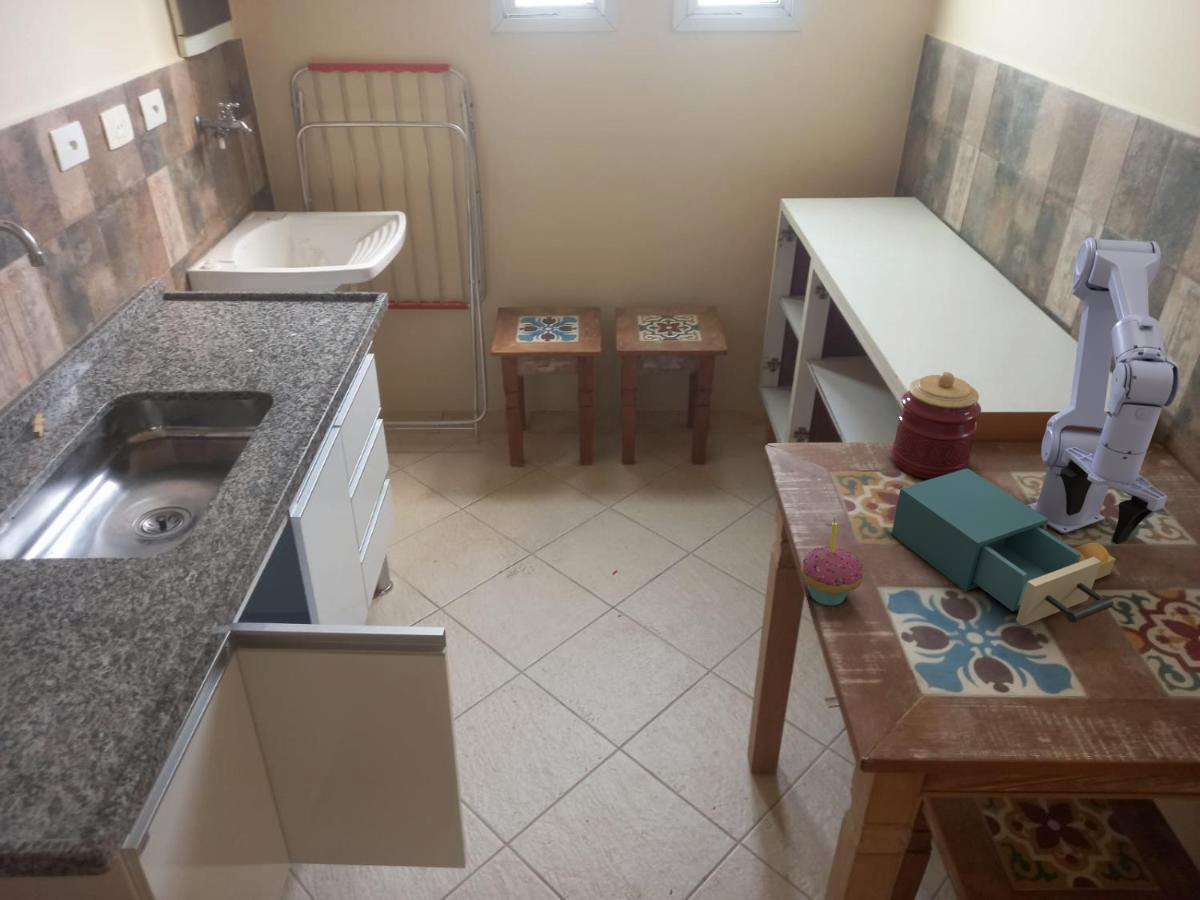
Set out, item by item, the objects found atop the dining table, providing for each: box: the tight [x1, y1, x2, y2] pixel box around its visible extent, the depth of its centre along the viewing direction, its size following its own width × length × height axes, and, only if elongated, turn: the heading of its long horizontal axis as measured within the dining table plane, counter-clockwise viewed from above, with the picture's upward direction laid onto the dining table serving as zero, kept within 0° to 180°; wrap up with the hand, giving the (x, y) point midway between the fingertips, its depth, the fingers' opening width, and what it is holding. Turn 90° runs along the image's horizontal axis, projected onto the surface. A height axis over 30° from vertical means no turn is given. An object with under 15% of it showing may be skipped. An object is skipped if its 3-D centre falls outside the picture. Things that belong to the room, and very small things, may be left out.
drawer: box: [972, 526, 1114, 627], centre depth 122 cm, size 19×12×7 cm, turn 25°
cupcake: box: [800, 517, 865, 606], centre depth 122 cm, size 9×8×12 cm
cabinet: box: [891, 467, 1049, 592], centre depth 132 cm, size 16×14×9 cm
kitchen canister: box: [891, 371, 982, 480], centre depth 152 cm, size 13×13×18 cm
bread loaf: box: [1072, 542, 1116, 581], centre depth 128 cm, size 8×4×4 cm, turn 115°
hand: (1095, 526), depth 125 cm, fingers open, 7 cm apart
